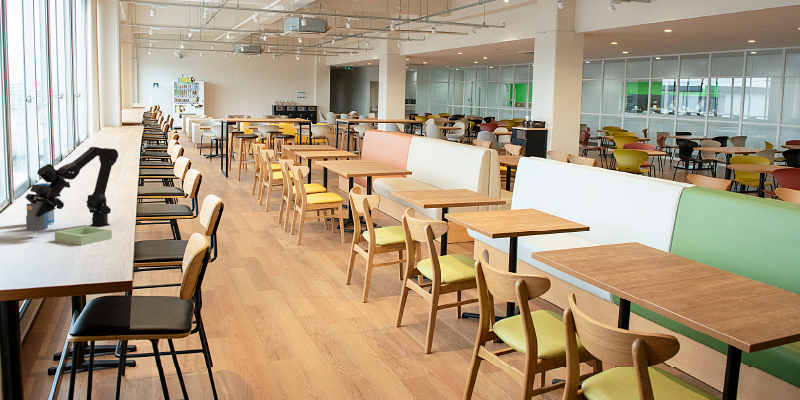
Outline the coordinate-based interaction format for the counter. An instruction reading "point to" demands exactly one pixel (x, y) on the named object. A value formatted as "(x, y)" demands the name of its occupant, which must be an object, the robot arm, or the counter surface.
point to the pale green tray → (83, 235)
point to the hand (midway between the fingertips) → (32, 216)
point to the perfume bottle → (45, 221)
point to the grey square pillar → (34, 221)
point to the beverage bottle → (50, 214)
